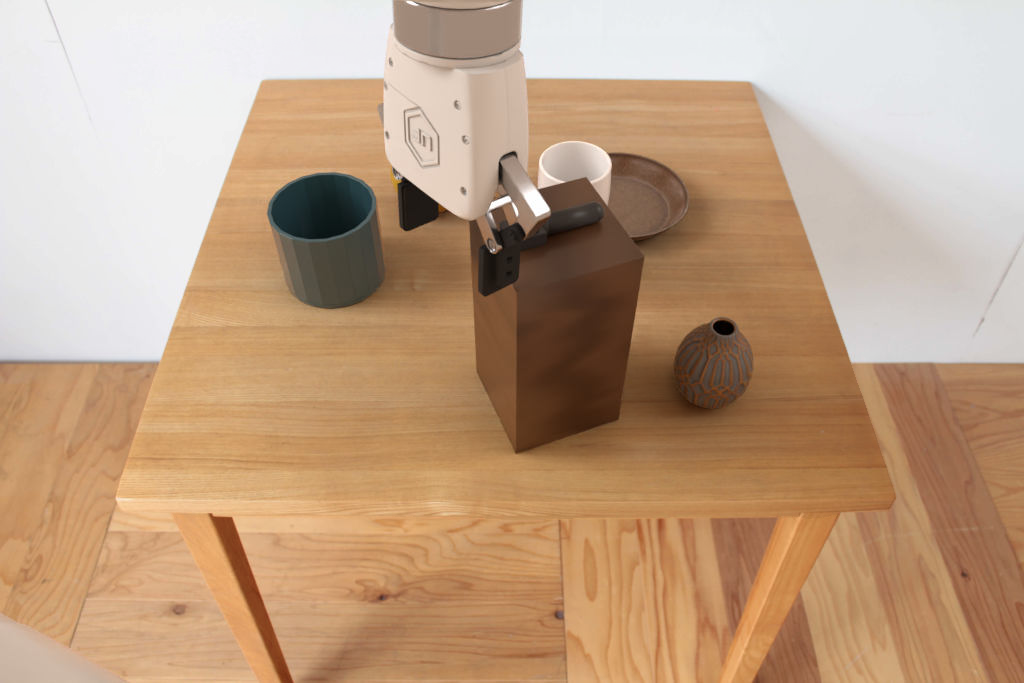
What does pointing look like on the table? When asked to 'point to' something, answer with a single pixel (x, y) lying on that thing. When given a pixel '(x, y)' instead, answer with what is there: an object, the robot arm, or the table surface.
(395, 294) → the table surface
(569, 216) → the dark grey mallet
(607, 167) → the tall white cup
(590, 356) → the stand
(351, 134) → the table surface
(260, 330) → the table surface
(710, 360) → the vase
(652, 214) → the saucer
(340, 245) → the tumbler
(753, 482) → the table surface
